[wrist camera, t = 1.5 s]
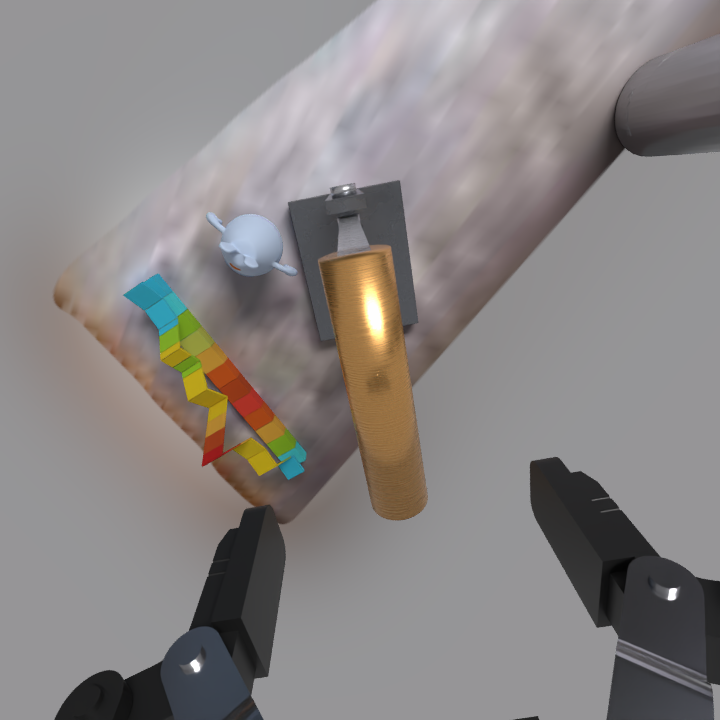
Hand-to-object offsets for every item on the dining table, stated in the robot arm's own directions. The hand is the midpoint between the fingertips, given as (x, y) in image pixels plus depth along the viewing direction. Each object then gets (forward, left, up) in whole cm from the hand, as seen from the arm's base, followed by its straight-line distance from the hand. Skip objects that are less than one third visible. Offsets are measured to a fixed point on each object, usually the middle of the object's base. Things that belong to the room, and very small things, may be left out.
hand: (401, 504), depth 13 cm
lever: (0, 0, -25) cm, 25 cm away
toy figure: (+10, -5, -39) cm, 41 cm away
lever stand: (0, 0, -39) cm, 39 cm away
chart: (+19, +12, -40) cm, 46 cm away
